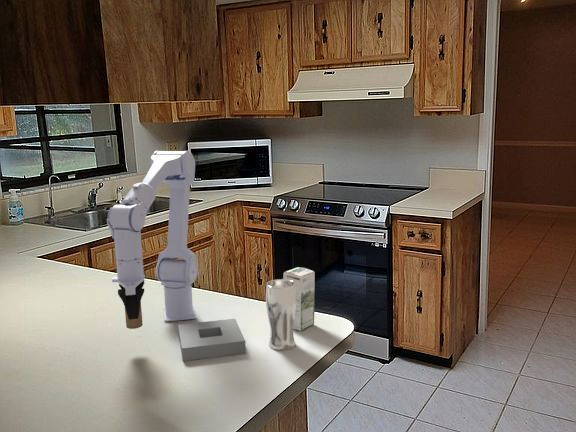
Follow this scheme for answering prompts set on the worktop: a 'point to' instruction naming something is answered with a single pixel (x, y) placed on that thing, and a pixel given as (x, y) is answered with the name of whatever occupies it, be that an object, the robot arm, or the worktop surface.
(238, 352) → the socket block
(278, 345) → the beer glass
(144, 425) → the worktop surface
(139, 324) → the dowel
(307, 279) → the syrup box
